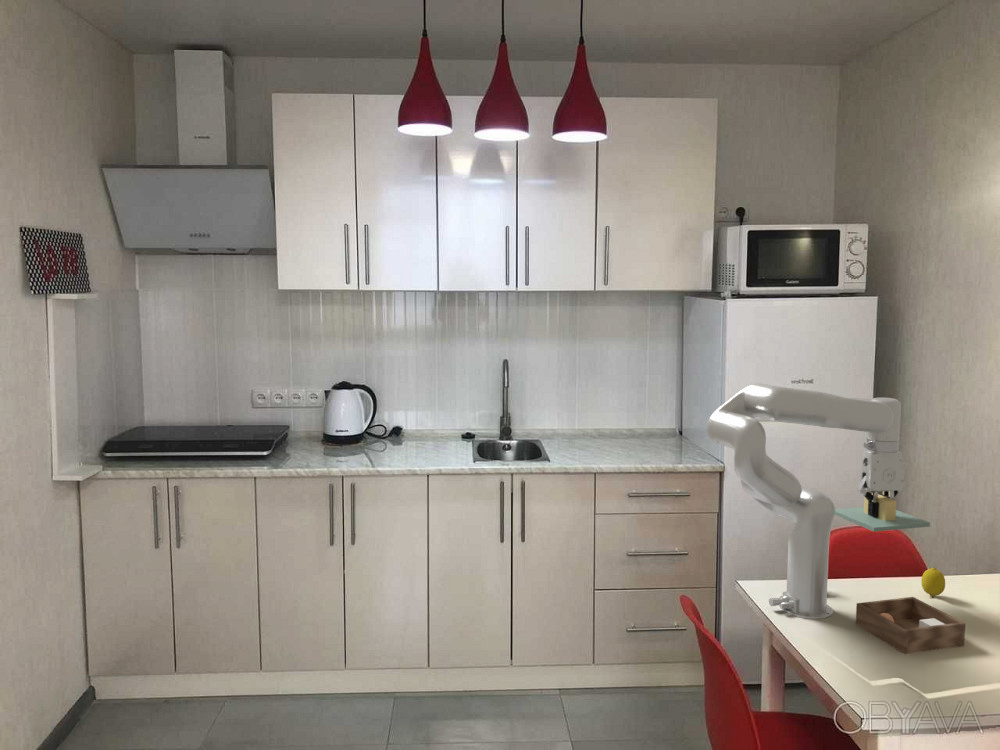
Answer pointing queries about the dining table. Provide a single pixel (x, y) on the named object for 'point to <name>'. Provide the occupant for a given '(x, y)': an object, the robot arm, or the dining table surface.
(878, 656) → the dining table surface
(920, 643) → the box
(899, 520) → the lid
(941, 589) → the lemon
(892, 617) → the ball
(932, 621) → the block
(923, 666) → the dining table surface
